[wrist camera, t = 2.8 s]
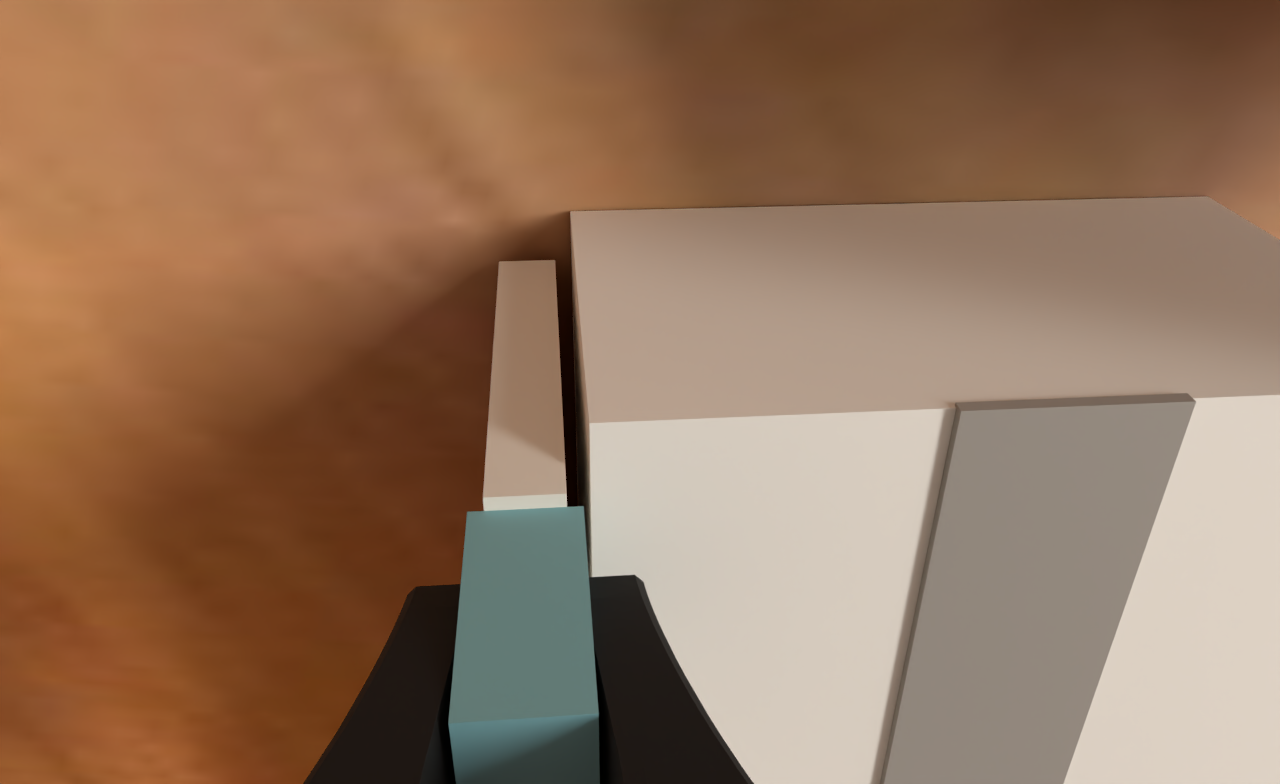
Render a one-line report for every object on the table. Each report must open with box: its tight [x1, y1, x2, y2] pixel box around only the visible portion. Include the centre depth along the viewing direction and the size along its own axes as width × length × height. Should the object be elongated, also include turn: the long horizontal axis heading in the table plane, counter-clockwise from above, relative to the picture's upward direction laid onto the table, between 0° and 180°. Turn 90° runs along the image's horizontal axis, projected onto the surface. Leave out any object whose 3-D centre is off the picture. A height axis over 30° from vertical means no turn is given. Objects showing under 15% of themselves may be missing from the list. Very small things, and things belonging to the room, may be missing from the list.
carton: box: [570, 196, 1280, 784], centre depth 19 cm, size 16×12×7 cm
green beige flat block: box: [448, 260, 600, 784], centre depth 17 cm, size 14×1×10 cm, turn 179°
